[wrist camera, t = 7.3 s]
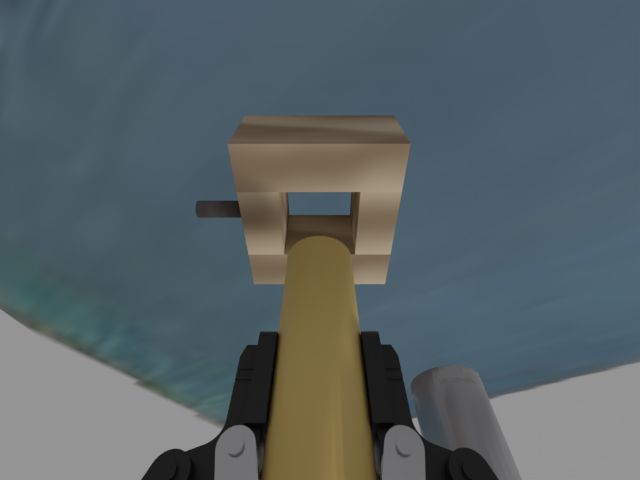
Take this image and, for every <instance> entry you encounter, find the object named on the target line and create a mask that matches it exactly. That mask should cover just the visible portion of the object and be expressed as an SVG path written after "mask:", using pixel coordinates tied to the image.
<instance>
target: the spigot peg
mask: <svg viewBox="0 0 640 480" xmlns="http://www.w3.org/2000/svg"><path fill="white" fill-rule="evenodd" d="M261 480H377V472H376V463H375V455H374V446H373V438H372V431H371V423H370V415H369V406H368V397H367V389H366V380H365V372H364V363H363V354H362V346H361V337H360V327H359V318H358V310H357V301H356V293H355V284H354V276H353V267H352V259H351V254H350V251H349V250H348V248H347V247H346V246H345V245H344V244H343V243H342V242H340V241H338V240H337V239H334V238H331V237H327V236H312V237H308V238H305V239H302V240H300V241H299V242H297V243H296V244H295V245H294V246H293V247H292V248H291V249H290V251H289V253H288V257H287V265H286V274H285V282H284V290H283V299H282V307H281V315H280V323H279V332H278V342H277V350H276V359H275V367H274V375H273V384H272V392H271V400H270V409H269V417H268V425H267V432H266V440H265V448H264V456H263V465H262V473H261Z"/></svg>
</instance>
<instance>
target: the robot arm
mask: <svg viewBox="0 0 640 480" xmlns="http://www.w3.org/2000/svg"><path fill="white" fill-rule="evenodd" d="M360 337H361V346H362V354H363V363H364V372H365V380H366V389H367V397H368V406H369V415H370V423H371V431H372V438H373V446H374V455H375V463H376V472H377V480H522V478H521V476H520V473H519V471H518V468H517V466H516V464H515V461H514V459H513V456H512V454H511V451H510V449H509V447H508V444H507V442H506V439H505V437H504V434H503V432H502V430H501V427H500V425H499V422H498V420H497V417H496V415H495V413H494V410H493V408H492V405H491V403H490V400H489V398H488V395H487V393H486V391H485V388H484V386H483V383H482V381H481V378H480V376H479V374H478V373H477V372H476V371H475V370H473V369H471V368H469V367H465V366H458V365H448V366H440V367H436V368H432V369H429V370H426V371H424V372H422V373H420V374H419V375H417V376H416V377H415V378H414V379H413V380H412V382H411V385H410V387H411V392H412V397H413V401H414V405H415V410H416V414H417V419H418V424H419V428H420V432H421V435H420V434H419V432H418V431H417V430H416V428H415V426H414V424H413V421H412V417H411V413H410V408H409V403H408V399H407V394H406V389H405V385H404V381H403V375H402V371H401V366H400V361H399V357H398V354H397V353H396V351H395V350H394V348H393V347H392V345H391V344H381V342H380V336H379V332H378V331H361V333H360ZM277 342H278V331H261V332H260V334H259V339H258V345H247V346H246V348H245V349H244V351H243V352H242V354H241V355H240V359H239V363H238V368H237V373H236V377H235V382H234V386H233V391H232V396H231V400H230V405H229V410H228V414H227V419H226V422H225V425H224V427H223V429H222V430H221V432H220V433H219V434H218V435H217V436H216V437H215V438H214V439H213V440H211V441H210V442H208V443H206V444H204V445H201V446H198V447H196V448H193V449H190V450H188V451H183V450H181V449H170V450H167V451H165V452H164V453H162V454H161V455H159V456H158V457H157V458H156V459H155V460H154V462H153V463H152V464H151V466H150V467H149V469H148V470H147V472H146V473H145V475H144V476H143V478H142V479H141V480H261V473H262V465H263V456H264V448H265V440H266V432H267V425H268V417H269V409H270V400H271V392H272V384H273V375H274V367H275V359H276V350H277Z"/></svg>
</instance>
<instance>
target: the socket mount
mask: <svg viewBox="0 0 640 480" xmlns="http://www.w3.org/2000/svg"><path fill="white" fill-rule="evenodd" d="M410 145H411V143H410V142H409V140H408V138H407V137H406V135H405V133H404V131H403V130H402V128H401V126H400V125H399V123H398V121H397V120H396V118H395V116H394V115H283V116H244V118H243V119H242V121H241V123H240V124H239V126H238V127H237V129H236V131H235V132H234V134H233V136H232V137H231V139H230V141H229V142H228V149H229V155H230V160H231V165H232V170H233V176H234V181H235V186H236V192H237V197H238V201H197V202H196V208H195V209H196V215H197V217H198V218H242V223H243V228H244V234H245V239H246V244H247V249H248V255H249V260H250V265H251V270H252V276H253V281H254V284H284V282H285V274H286V265H287V257H288V253H289V251H290V249H291V248H292V247H293V246H294V245H295V244H296V243H297V242H299V241H300V240H302V239H305V238H308V237H312V236H327V237H331V238H334V239H337V240H338V241H340V242H342V243H343V244H344V245H345V246H346V247H347V248H348V250H349V251H350V254H351V259H352V267H353V276H354V284H385V282H386V277H387V271H388V266H389V260H390V255H391V249H392V244H393V238H394V233H395V227H396V222H397V216H398V211H399V205H400V200H401V194H402V189H403V183H404V178H405V172H406V167H407V162H408V156H409V151H410ZM288 192H351V205H350V215H289V202H288Z"/></svg>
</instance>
